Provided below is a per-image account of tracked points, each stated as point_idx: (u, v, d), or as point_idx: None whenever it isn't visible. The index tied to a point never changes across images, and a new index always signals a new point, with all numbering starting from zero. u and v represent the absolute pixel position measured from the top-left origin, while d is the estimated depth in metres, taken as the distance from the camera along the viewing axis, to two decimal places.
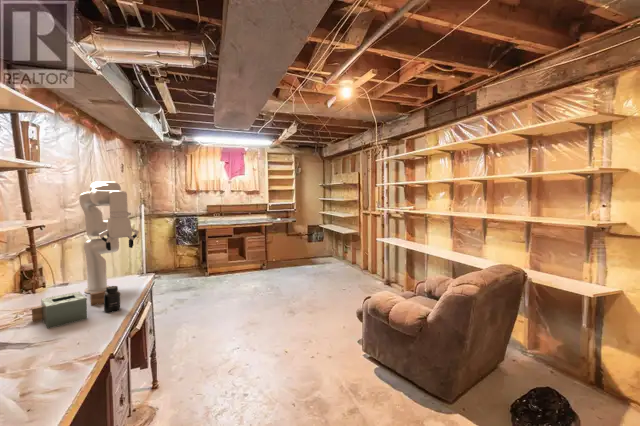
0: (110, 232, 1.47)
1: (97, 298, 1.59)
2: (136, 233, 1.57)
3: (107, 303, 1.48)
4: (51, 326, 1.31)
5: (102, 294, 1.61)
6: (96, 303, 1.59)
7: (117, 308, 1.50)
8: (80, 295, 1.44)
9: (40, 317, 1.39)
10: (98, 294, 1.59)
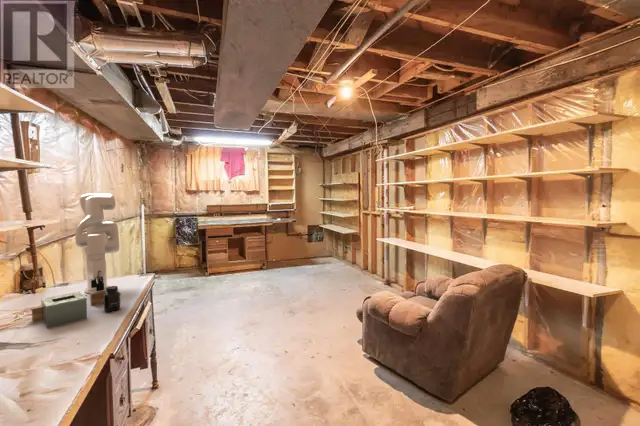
0: (103, 272, 1.58)
1: (97, 298, 1.59)
2: None
3: (107, 303, 1.48)
4: (51, 326, 1.31)
5: (102, 294, 1.61)
6: (96, 303, 1.59)
7: (117, 308, 1.50)
8: (80, 295, 1.44)
9: (40, 317, 1.39)
10: (98, 294, 1.59)
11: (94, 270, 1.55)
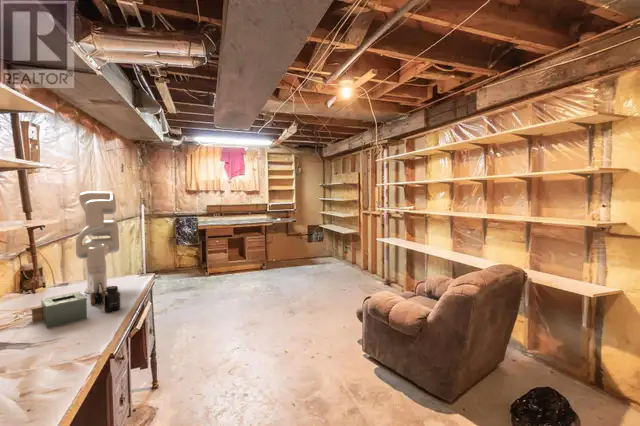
0: (104, 285, 1.59)
1: None
2: None
3: (107, 303, 1.48)
4: (51, 326, 1.31)
5: (102, 294, 1.61)
6: None
7: (117, 308, 1.50)
8: (80, 295, 1.44)
9: (40, 317, 1.39)
10: None
11: (94, 283, 1.55)
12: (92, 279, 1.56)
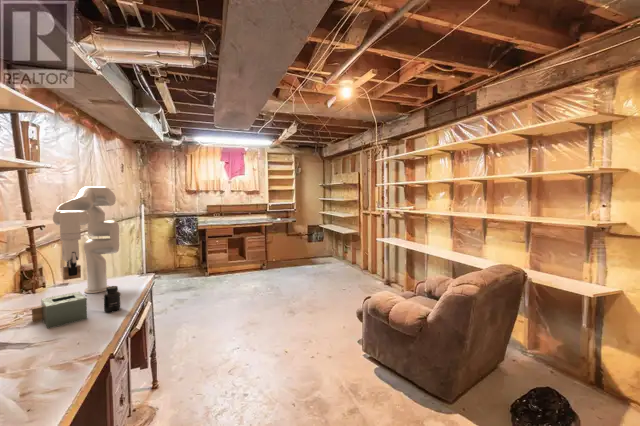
0: (78, 254, 1.42)
1: None
2: None
3: (107, 303, 1.48)
4: (51, 326, 1.31)
5: (77, 268, 1.44)
6: (70, 277, 1.42)
7: (117, 308, 1.50)
8: (80, 295, 1.44)
9: (40, 317, 1.39)
10: None
11: (67, 251, 1.39)
12: (65, 247, 1.39)
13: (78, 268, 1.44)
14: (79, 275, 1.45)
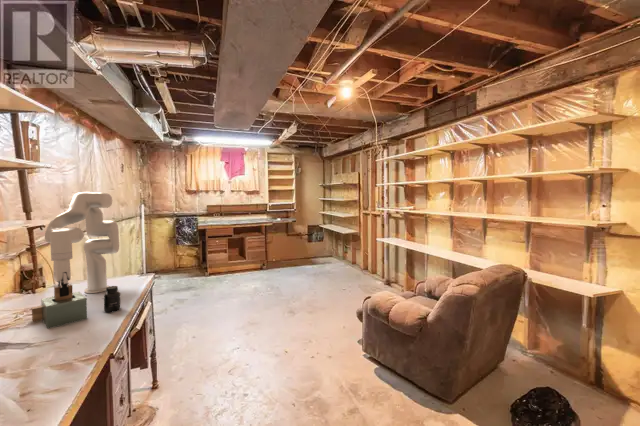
0: (70, 274, 1.37)
1: None
2: None
3: (107, 303, 1.48)
4: (51, 326, 1.31)
5: None
6: (61, 298, 1.38)
7: (117, 308, 1.50)
8: (80, 295, 1.44)
9: (40, 317, 1.39)
10: None
11: (58, 271, 1.34)
12: (55, 267, 1.35)
13: (70, 288, 1.40)
14: (71, 295, 1.40)
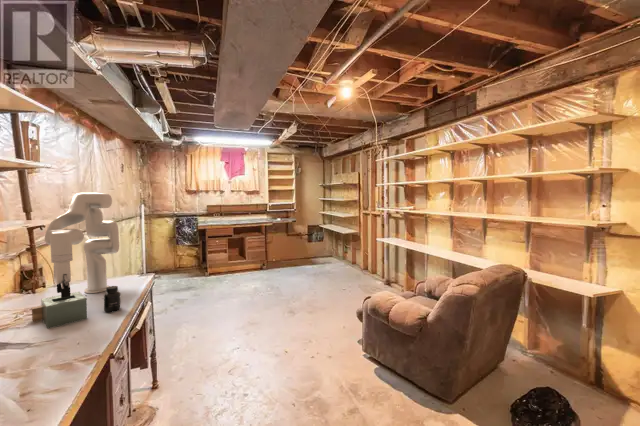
0: (70, 276, 1.38)
1: None
2: None
3: (107, 303, 1.48)
4: (51, 326, 1.31)
5: None
6: None
7: (117, 308, 1.50)
8: (80, 295, 1.44)
9: (40, 317, 1.39)
10: None
11: (58, 273, 1.34)
12: (56, 269, 1.35)
13: None
14: None
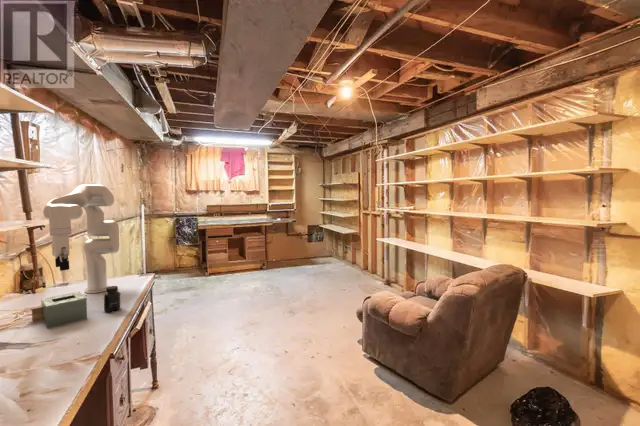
0: None
1: None
2: None
3: (107, 303, 1.48)
4: (51, 326, 1.31)
5: None
6: None
7: (117, 308, 1.50)
8: (80, 295, 1.44)
9: (40, 317, 1.39)
10: None
11: (57, 246, 1.34)
12: (54, 242, 1.35)
13: None
14: None
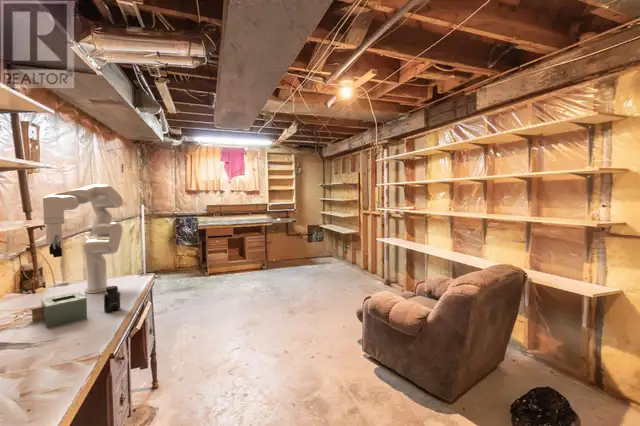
0: None
1: None
2: None
3: (107, 303, 1.48)
4: (51, 326, 1.31)
5: None
6: None
7: (117, 308, 1.50)
8: (80, 295, 1.44)
9: (40, 317, 1.39)
10: None
11: (50, 234, 1.43)
12: (48, 230, 1.44)
13: None
14: None
